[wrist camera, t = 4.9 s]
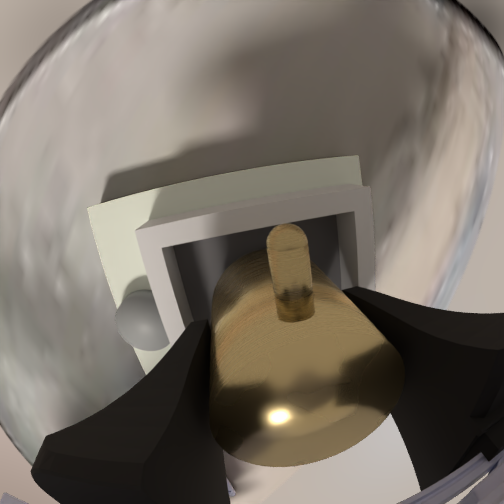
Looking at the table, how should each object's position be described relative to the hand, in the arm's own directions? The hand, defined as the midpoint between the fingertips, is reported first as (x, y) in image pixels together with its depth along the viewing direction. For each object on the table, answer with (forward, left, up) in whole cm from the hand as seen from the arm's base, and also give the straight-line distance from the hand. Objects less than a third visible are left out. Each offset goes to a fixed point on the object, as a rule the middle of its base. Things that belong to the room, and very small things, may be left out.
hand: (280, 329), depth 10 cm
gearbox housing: (0, +1, -4) cm, 5 cm away
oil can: (0, 0, -2) cm, 2 cm away
